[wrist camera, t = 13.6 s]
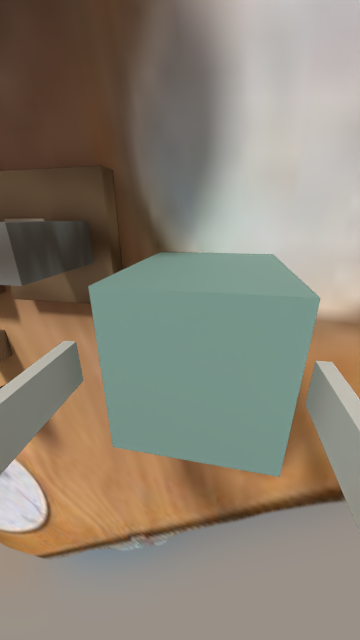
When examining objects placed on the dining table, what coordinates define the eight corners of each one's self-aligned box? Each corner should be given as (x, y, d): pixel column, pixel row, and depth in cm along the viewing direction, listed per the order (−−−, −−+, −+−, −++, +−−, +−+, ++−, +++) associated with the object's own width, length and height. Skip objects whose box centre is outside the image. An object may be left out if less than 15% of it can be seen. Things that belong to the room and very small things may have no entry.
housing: (258, 359, 24) (279, 476, 13) (163, 349, 26) (112, 446, 15) (273, 254, 20) (320, 297, 9) (160, 252, 22) (88, 286, 11)
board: (125, 298, 24) (61, 346, 15) (29, 293, 26) (-78, 333, 17) (112, 170, 20) (13, 131, 11) (-1, 175, 22) (-164, 146, 13)
